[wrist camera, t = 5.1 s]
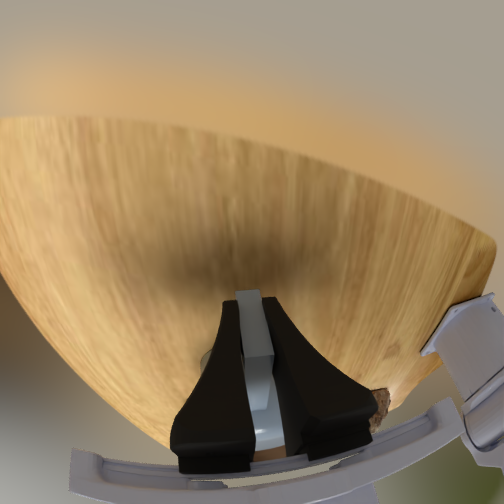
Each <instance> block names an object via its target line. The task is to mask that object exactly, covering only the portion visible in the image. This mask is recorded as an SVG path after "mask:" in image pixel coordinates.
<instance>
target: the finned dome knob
mask: <svg viewBox="0 0 504 504" xmlns="http://www.w3.org/2000/svg"><path fill="white" fill-rule="evenodd" d="M235 299H236V300H238V306H239V311H240V344H241V358H242V364H243V370H244V376H245V382H246V388H247V393H248V399H249V404H250V409H251V414H252V419H253V424H254V429H255V435H256V448H255V451H260V450H266V449H271V448H275V447H279V446H282V445H285V442H284V434H283V428H282V421H281V415H280V409H279V403H278V397H277V391H276V386H275V382H274V378H273V375H272V369H273V362H274V351H273V346H272V342H271V338H270V333H269V329H268V325H267V321H266V319H265V314H264V310H263V306H262V299H261V295H260V291H259V289H254V290H242V291H235ZM211 352H212V350H210V351H209V352H208V353H206V354H205V356H204V357H203V358H202V360H201V364H200V372H201V375H202V373H203V371H204V369H205V366H206V364H207V362H208V359H209V357H210V354H211Z"/></svg>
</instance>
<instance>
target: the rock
mask: <svg viewBox="0 0 504 504" xmlns="http://www.w3.org/2000/svg"><path fill="white" fill-rule="evenodd" d="M372 394H373V395H374V397H375V399H376V401H377V403H378V406H379V409H378V411H377V412H376V413H375V414H374V415H373V416H372V417H371V418H370V419H369V422H370V425H371V427H370V428H369V430H370V433H374V432H376V431H377V430H378V429H379V427H380V425H381V422H382V420H383V419H385V417H386V416H387V414H388V407H389V405H390V402H391V400H390V393H389V391H388V390H385V389H381V390H376V391H372Z"/></svg>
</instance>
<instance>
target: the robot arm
mask: <svg viewBox="0 0 504 504" xmlns="http://www.w3.org/2000/svg"><path fill="white" fill-rule="evenodd" d="M494 295H495V294H494V293H493V292H492V293H489V294H487V295H484V296H481V297H478V298H476V299H473V300H470V301H467V302H464V303H461V304H458V305H455V306H452V307H451V308H450V309H449V310H448V312H447V314H446V315H445V317H444V318H443V320H442V322H441V323H440V325H439V326H438V328H437V329H436V331H435V332H434V334H433V335H432V337H431V338H430V340H429V341H428V343H427V344H426V345H425V347H424V348H423V350H422V351H421V352H420V355H421V356H425V355H427V354H430V353H432V352H435V351H437V353H438V355H439V356H440V358H441V360H442V361H443V363H444V365H445V367H446V368H447V370H448V372H449V374H450V376H451V377H452V379H453V381H454V383H455V385H456V387H457V389H458V391H459V393H460V395H461V397H462V399H463V400H464V402H466V403H465V404H463V405H462V406H461V409H462V411H461V414H460V416H459V414H458V411H457V409H456V407H455V406H454V403H453V401H452V399H451V397H447V398H445V399H443V400H442V401H440V402H438V403H436V404H434V405H433V406H431V407H430V408H429V409H428V410H427V411H426V412H424V413H422V414H420V415H418V416H416V417H414V418H411V419H409V420H407V421H405V422H402V423H400V424H398V425H395V426H393V427H390V428H388V429H385V430H383V431H381V432H378V433H375V434H372V435H371V433H370V430H369V428H370V427H371V425H370V422H369V419H370V418H371V417H372V416H373V415H374V414H375V413H376V412H377V411H378V409H379V406H378V403H377V401H376V399H375V397H374V395H373V394H372V392H371V390H369V389H368V388H366V387H364V386H362V385H361V384H359V383H357V382H356V381H354V380H353V379H351V378H350V377H348V376H347V375H345V374H344V373H343V372H341V371H340V370H339V369H337V368H336V367H335V366H334V365H332V364H331V363H330V362H329V361H327V360H326V359H325V358H324V357H323V356H322V355H321V354H320V353H319V352H318V351H317V350H316V349H315V348H314V347H313V346H312V345H311V344H310V343H309V342H308V341H307V340H306V339H305V337H304V336H303V335H302V334H301V333H300V331H299V330H298V329H297V328H296V326H295V325H294V324H293V322H292V321H291V320H290V318H289V317H288V315H287V314H286V313H285V311H284V310H283V308H282V306H281V305H280V303H279V302H278V300H277V298H276V297H265V298H262V306H263V310H264V314H265V319H266V321H267V325H268V329H269V333H270V338H271V342H272V346H273V351H274V362H273V369H272V375H273V378H274V382H275V386H276V391H277V397H278V403H279V409H280V415H281V421H282V428H283V434H284V442H285V449H286V458H280V459H274V460H267V461H259V462H254V461H253V459H254V454H255V448H256V435H255V429H254V424H253V419H252V414H251V409H250V404H249V399H248V393H247V388H246V382H245V376H244V370H243V364H242V358H241V344H240V311H239V306H238V300H229V301H224V302H223V303H222V306H223V307H222V316H221V321H220V326H219V329H218V333H217V337H216V340H215V343H214V346H213V349H212V352H211V354H210V357H209V359H208V362H207V364H206V366H205V369H204V371H203V373H202V375H201V377H200V379H199V381H198V383H197V384H196V386H195V388H194V390H193V391H192V393H191V395H190V396H189V398H188V400H187V401H186V403H185V404H184V405H183V407H182V408H181V410H180V411H179V412H178V414H177V415H176V417H175V419H174V422H173V425H172V429H171V433H170V449H171V450H172V452H174V453H175V454H176V455H177V456H178V463H179V465H159V464H147V463H137V462H129V461H122V460H115V459H109V458H103V457H102V456H101V455H99V454H96V453H93V452H89V451H85V450H80V449H76V448H72V452H71V462H70V477H69V491H70V492H71V493H74V494H77V495H80V496H84V497H87V498H90V499H94V500H98V501H102V502H106V503H110V504H379V501H378V497H377V494H376V491H375V487H374V484H373V482H375V481H377V480H380V479H382V478H384V477H387V476H389V475H391V474H393V473H395V472H397V471H400V470H401V469H403V468H405V467H407V466H409V465H411V464H413V463H415V462H417V461H419V460H421V459H422V458H424V457H426V456H428V455H429V454H431V453H433V452H434V451H436V450H438V449H439V448H441V447H442V446H444V445H446V444H447V443H449V442H450V441H452V440H453V439H455V438H456V437H458V436H459V435H460V436H461V439H462V441H463V443H464V445H465V446H466V447H467V448H468V449H469V450H470V452H471V453H472V455H473V457H474V459H475V461H476V463H477V465H479V466H489V467H500V468H502V471H503V474H504V438H503V439H501V440H498V439H499V438H501V437H502V436H504V316H503V314H502V313H501V312H500V310H499V309H498V308H497V306H496V305H495V304H494V303H493V301H492V299H493V298H494ZM497 440H498V441H497ZM357 453H359V454H357ZM354 454H357V455H354ZM351 455H354V456H351ZM348 456H351V457H349V458H346V459H344V460H341V461H340V462H339V463H338V464H336V465H334V466H332V467H330V468H329V471H325V472H320V473H316V474H312V475H307V476H303V477H298V478H293V479H288V480H283V481H277V482H271V483H265V484H258V485H251V486H243V487H233V488H228V486H227V485H224V484H223V482H220V481H191V480H215V479H233V478H245V477H254V476H262V475H269V474H275V473H282V472H287V471H293V470H298V469H303V468H307V467H312V466H316V465H319V464H324V463H327V462H331V461H335V460H338V459H342V458H345V457H348Z"/></svg>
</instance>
